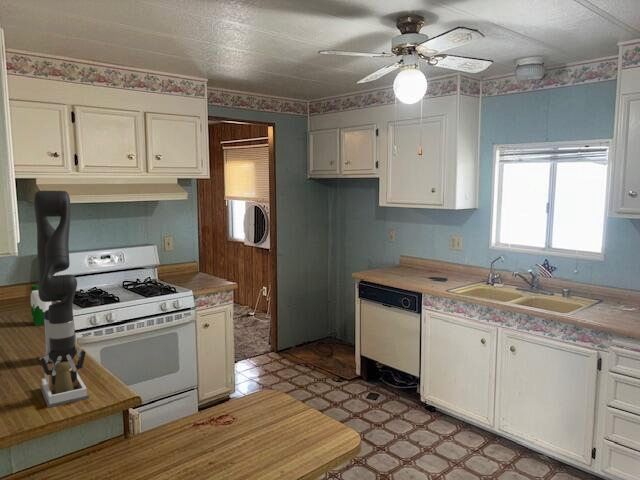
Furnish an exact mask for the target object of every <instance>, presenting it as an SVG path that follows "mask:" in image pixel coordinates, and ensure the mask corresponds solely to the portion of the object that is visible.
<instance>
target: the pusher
mask: <svg viewBox="0 0 640 480" xmlns="http://www.w3.org/2000/svg"><path fill="white" fill-rule="evenodd" d="M71 370H72V369H71V368H70V369H69V371H70V375H71ZM48 379H49V388H50V391H51V392H52V391H54V385H53V384H52V378H51V375H48ZM71 380H72V378H71ZM72 385H73V387H75V386H77V379H76V380H75V382H72Z"/></svg>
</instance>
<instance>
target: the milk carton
mask: <svg viewBox="0 0 640 480" xmlns="http://www.w3.org/2000/svg"><path fill="white" fill-rule="evenodd" d="M52 304H53V303H52V302H43V301H41V300H40V298H39V294H38V284H33V285H30V309H31V310H30V313H31V318H32V322H33V325H34V327H38V326H39V327H40V326H45V323H44V312H45V311H46V310H48V309H49V306H50V305H52Z"/></svg>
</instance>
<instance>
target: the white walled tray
mask: <svg viewBox="0 0 640 480" xmlns="http://www.w3.org/2000/svg"><path fill="white" fill-rule="evenodd" d="M70 369H72V368H70ZM40 390H41V393H42V395H43V398H44V400H45V403H46V406H47V408H53V407H56V406H61V405H64V404H66V405H67V404H70V403H73V402H74V403H75V402H79V401H82V400H87V399H89V398H90V395H89V393H88V388H87V387H86V385H85V382H83V380H82V378H81V376H80V375H79V373H78V372H77V386H75V387H73V390H72V391H67V392H63V393H58V394H54V391H52V392H51V391H50V388H49V379H48V375H46V374H45V373H44V377H42V378H41V385H40Z"/></svg>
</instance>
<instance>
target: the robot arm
mask: <svg viewBox="0 0 640 480" xmlns="http://www.w3.org/2000/svg"><path fill="white" fill-rule="evenodd" d="M33 198H34V200H33V203H34V206H33V207H34V215H35V223H36V240H37V241H36V246H37V247H36V249H37V252H36V253H37V262H38V284H37V285H38V294H39V298H40V300H41V301H43V302H51V303H52V302H55V303H52V305H50V306H49V309H48V310H46V311H45V312H44V323H45V325H44V337H45V338H44V339H45V356H40V357H39V361H40V364H41V366H42V368H43V372H44V375H45V374H46V375H51V378H52V384H53V385H54V384H55V375H56V372H55V371H54V368H55V366H54V368H53V365H54V363H55V365H56V364H58V363H60V362H62V361H68V362H69V363H70V365H71V368H72V370H71V378H72V382H75V380H76V379H77V373H78V370H79V369H83V365H84V362H85V357H86V353H87V352H86V351H85V350H84V349H79V350H78V349H77V348H76V338H75V337H76V335H75V332H76V331H75V324H74V315H73V314H74V313H73V309H74V307H73V304H74V299H75V295H76V291H77V289H78V288H77V287H78V280H77V278H76V276H75V275H73V274H59V275H58V273H60V272H63V271H66V270H68V269H69V268H70V265H71V264H70V250H69V239H70V238H69V237H70V227H71V197H70V195H69V192H67V191H65V190H37V191H36V192H35V193H34V197H33ZM50 217H51V218H52V217H56V218H58V217H59V218H60V219H59V223H58V225H57V226H56V228H54V227H53V226H52V225H51V223H50V221H49V220H48V218H50ZM55 274H57V275H55ZM76 355H77V357H78V360H77V364H75V362H74V361H73V360H74V358H75V357H76ZM48 362H50V363H52V367H51V369H49V368H48ZM71 368H70V369H71Z"/></svg>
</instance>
